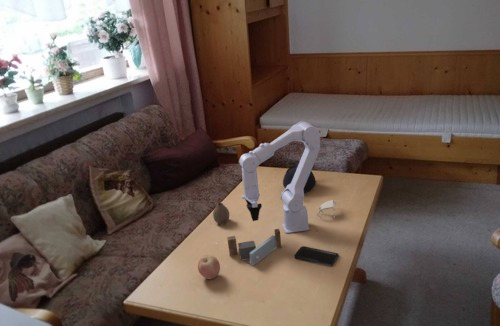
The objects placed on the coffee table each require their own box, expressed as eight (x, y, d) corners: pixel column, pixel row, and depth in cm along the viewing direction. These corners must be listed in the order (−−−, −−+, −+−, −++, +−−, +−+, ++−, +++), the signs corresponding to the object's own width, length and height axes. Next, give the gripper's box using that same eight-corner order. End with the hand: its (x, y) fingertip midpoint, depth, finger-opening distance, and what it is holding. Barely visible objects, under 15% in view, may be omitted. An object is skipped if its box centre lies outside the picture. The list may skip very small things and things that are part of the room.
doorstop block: (255, 251, 174) (253, 240, 173) (256, 257, 171) (255, 246, 169) (239, 254, 174) (238, 243, 172) (240, 260, 170) (239, 248, 168)
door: (273, 246, 176) (272, 235, 174) (278, 248, 175) (277, 236, 173) (250, 264, 166) (249, 253, 165) (255, 266, 165) (254, 254, 163)
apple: (196, 274, 164) (193, 255, 161) (216, 267, 167) (214, 249, 164) (203, 286, 158) (200, 266, 155) (224, 279, 160) (221, 260, 157)
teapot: (308, 201, 208) (307, 177, 204) (276, 198, 214) (274, 174, 210) (322, 179, 229) (321, 156, 225) (292, 176, 235) (291, 154, 231)
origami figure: (335, 222, 189) (334, 211, 187) (315, 219, 193) (315, 209, 191) (342, 209, 199) (342, 199, 197) (324, 206, 203) (323, 196, 201)
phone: (301, 245, 174) (339, 253, 167) (301, 248, 174) (339, 256, 167) (292, 256, 168) (332, 265, 160) (293, 259, 168) (332, 268, 161)
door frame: (280, 244, 177) (278, 228, 175) (281, 247, 175) (280, 231, 173) (229, 252, 175) (227, 237, 173) (229, 256, 173) (227, 240, 170)
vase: (228, 226, 194) (225, 207, 191) (212, 226, 196) (209, 207, 192) (231, 218, 200) (229, 200, 197) (216, 218, 202) (214, 200, 199)
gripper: (237, 178, 182) (241, 208, 187) (242, 193, 169) (246, 226, 174) (255, 175, 183) (258, 206, 188) (261, 190, 170) (264, 223, 175)
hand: (253, 215), depth 181 cm, fingers open, 7 cm apart
